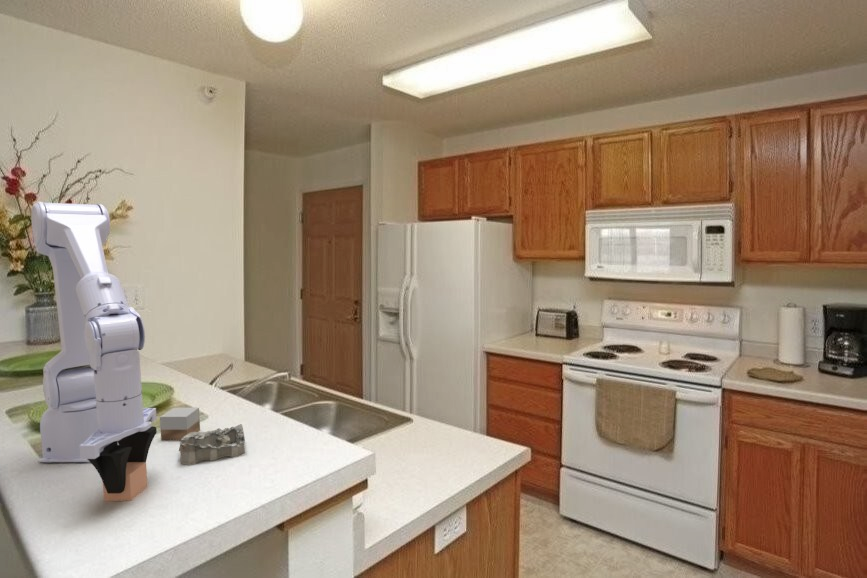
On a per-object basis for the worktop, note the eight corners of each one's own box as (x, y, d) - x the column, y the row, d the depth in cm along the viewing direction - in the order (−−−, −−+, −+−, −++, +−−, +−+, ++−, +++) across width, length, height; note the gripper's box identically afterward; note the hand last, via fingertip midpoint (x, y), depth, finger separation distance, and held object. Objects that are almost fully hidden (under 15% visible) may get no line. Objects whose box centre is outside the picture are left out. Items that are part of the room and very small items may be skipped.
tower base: (161, 442, 93) (160, 429, 92) (175, 431, 98) (174, 419, 97) (187, 441, 93) (186, 429, 92) (200, 431, 98) (199, 419, 97)
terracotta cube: (104, 500, 71) (102, 474, 71) (121, 487, 75) (120, 462, 75) (131, 500, 71) (129, 474, 71) (147, 487, 75) (145, 462, 75)
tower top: (160, 429, 92) (159, 416, 92) (174, 419, 97) (173, 407, 97) (187, 429, 92) (186, 416, 92) (199, 419, 97) (199, 407, 97)
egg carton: (177, 469, 81) (176, 445, 81) (182, 451, 88) (180, 429, 88) (246, 457, 86) (244, 435, 85) (245, 441, 92) (243, 420, 92)
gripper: (114, 413, 64) (121, 510, 66) (172, 381, 79) (177, 462, 80) (60, 413, 64) (69, 511, 66) (129, 381, 79) (135, 462, 80)
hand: (125, 484), depth 73 cm, fingers closed on terracotta cube, 4 cm apart
